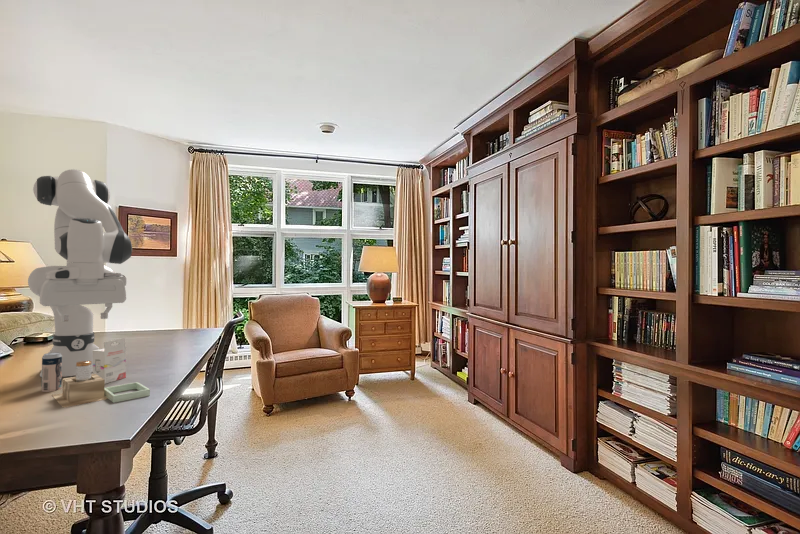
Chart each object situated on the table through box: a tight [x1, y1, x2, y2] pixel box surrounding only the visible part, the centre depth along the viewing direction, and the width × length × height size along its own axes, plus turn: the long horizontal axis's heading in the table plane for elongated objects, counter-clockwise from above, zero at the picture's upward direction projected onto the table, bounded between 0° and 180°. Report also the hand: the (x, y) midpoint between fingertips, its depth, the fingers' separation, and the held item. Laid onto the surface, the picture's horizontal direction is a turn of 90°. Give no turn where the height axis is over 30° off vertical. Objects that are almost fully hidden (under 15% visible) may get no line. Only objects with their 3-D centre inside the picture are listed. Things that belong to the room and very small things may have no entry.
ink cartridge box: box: [92, 337, 127, 385], centre depth 139 cm, size 9×5×15 cm, turn 168°
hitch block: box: [51, 373, 109, 409], centre depth 122 cm, size 16×12×6 cm
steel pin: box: [75, 361, 92, 382], centre depth 122 cm, size 4×4×10 cm
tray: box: [104, 381, 151, 403], centre depth 124 cm, size 11×9×3 cm
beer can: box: [41, 353, 63, 393], centre depth 128 cm, size 5×5×12 cm
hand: (84, 320), depth 122 cm, fingers open, 8 cm apart
